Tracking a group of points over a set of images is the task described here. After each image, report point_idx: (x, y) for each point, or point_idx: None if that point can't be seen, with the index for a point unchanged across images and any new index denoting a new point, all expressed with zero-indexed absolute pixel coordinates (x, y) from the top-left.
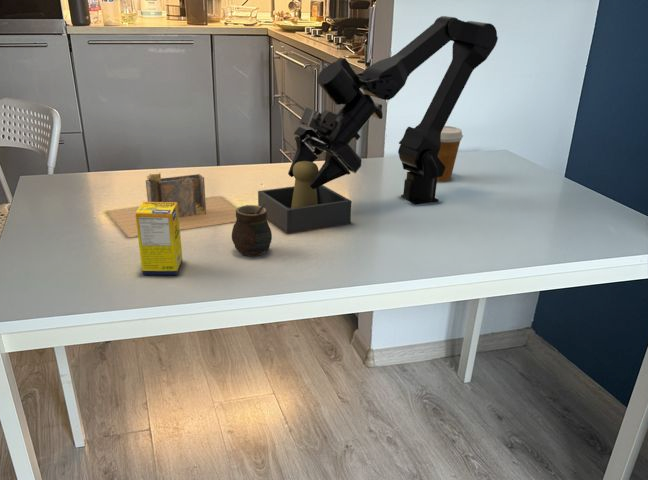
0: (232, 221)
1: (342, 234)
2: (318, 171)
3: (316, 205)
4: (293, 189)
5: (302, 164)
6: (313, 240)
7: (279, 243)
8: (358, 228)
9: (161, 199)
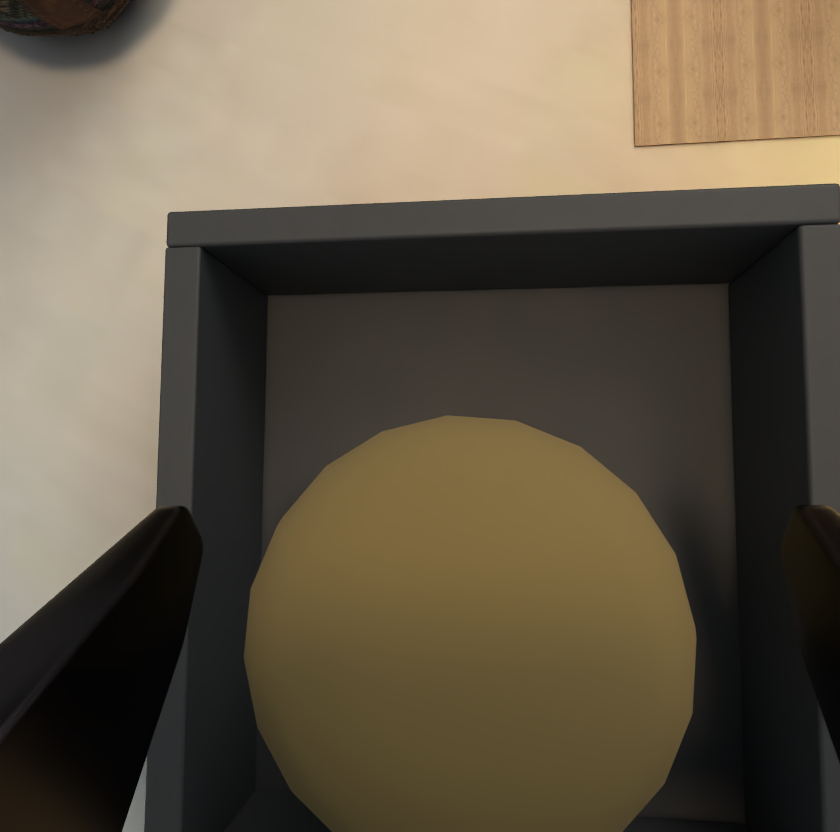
0: (643, 14)
1: None
2: (50, 672)
3: None
4: None
5: (385, 552)
6: (77, 384)
7: (127, 161)
8: None
9: None
